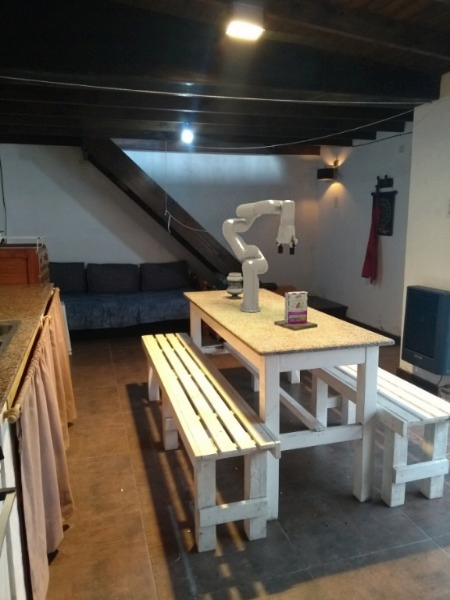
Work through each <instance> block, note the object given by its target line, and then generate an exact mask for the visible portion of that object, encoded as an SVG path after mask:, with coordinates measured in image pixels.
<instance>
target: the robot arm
mask: <svg viewBox="0 0 450 600" xmlns="http://www.w3.org/2000/svg"><path fill="white" fill-rule="evenodd" d="M295 211H296V203H295V201H294V200H288V199H286V200H278V199H267V200H260V201H255V202H251V203H244V204H243V203H242V204H240V205H238V206H237V208H236V209H235V214H236V216H237V217H238V218H228V219H226V220H224V222H223V224H222V234H223V237H224V239H225V241H227V242H228V244H229V245H230V248H231V249H232V251H233V252H234V254H235V255H236V257H237V259H238V260H240V261H242V262H243V261H244V262H243V263H242V265H241V269H242V277H243V281H242V282H243V283H242V288H243V293H242V302H241V303H240V305H241V306H242V307H240V311H241V312H244V313H258V312H261V310H262V309H261V308H260V307H259V303H260V302H259V301H260V300H259V299H260V298H259V296H260V295H259V294H260V280H259V277H258V275H262V274H265V273H266V272H267V271H268V270H269V264H268V261H267V259H266V258H265V256H264V255H263V253H262V251H261V250H260V248H259V247H258V246H256V245H255V244H247V243H246V242H245V241H244V238H242V237H241V235H239V234H238V233H245V232H247V231H249V229H250V227H252V225H253V223H254V222H255V220H256V219H257V218H259V217H261V216H262V215H270V214H271V215H275V214H276V215H280V222H279V223H280V224H279V227H278V232H277V237H276V238H275V241H276V245H277V254H283V253H284V247H283V245H285V244H286V245H289V250H288V251H289V252H288V253H289V256H293V255H295V250H296V246H297V245H298V242H299V240H298V238H296V228H295Z"/></svg>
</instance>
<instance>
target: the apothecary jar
mask: <svg viewBox="0 0 450 600" xmlns="http://www.w3.org/2000/svg"><path fill="white" fill-rule="evenodd" d="M226 281H227V282H228V284H227V285H228V287H227V288H226V292H227V294H228V295H230V296H228V297H227V299H229V300H235V301H236V300H243V297H241V296H240V295H241V294H243V283H242V282H243V275H242V273H241V272H230V273H228V276H226Z"/></svg>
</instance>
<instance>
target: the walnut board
mask: <svg viewBox="0 0 450 600" xmlns="http://www.w3.org/2000/svg"><path fill="white" fill-rule="evenodd" d="M273 325H275V326H278V327H281V328H285V329H288V330H291V331H301V330H307V329H313V328H318V323H315V322H311V321H308V320H307V323H298V324H287V323H285V319H283V320H275V321H274V323H273Z"/></svg>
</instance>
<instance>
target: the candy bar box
mask: <svg viewBox="0 0 450 600" xmlns="http://www.w3.org/2000/svg"><path fill="white" fill-rule="evenodd" d="M308 294H309V292H307V291H287V292H285V293H284V296H285V297H284V320H285V323H287V324H298V323H307V321H308V298H309V297H308Z"/></svg>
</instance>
